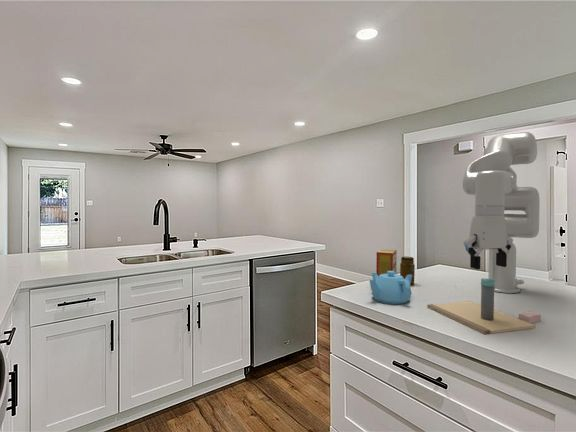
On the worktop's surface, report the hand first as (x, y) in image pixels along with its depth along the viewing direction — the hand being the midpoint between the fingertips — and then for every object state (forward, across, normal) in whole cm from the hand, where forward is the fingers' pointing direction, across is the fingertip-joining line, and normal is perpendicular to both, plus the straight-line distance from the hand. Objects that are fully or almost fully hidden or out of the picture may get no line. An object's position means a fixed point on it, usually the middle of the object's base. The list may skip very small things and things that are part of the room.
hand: (488, 267), depth 100 cm
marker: (+16, +1, +1) cm, 16 cm away
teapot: (+17, +17, -27) cm, 36 cm away
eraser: (+17, -12, +4) cm, 21 cm away
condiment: (+18, -3, -45) cm, 49 cm away
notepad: (+17, +1, -3) cm, 17 cm away
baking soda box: (+17, +9, -44) cm, 48 cm away
